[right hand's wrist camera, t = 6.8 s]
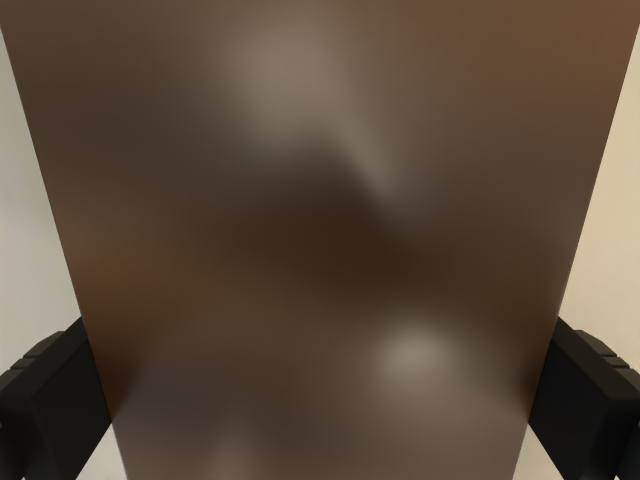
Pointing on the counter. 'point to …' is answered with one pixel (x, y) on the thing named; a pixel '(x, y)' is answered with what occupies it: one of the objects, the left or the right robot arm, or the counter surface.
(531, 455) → the counter surface
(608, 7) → the cabinet
